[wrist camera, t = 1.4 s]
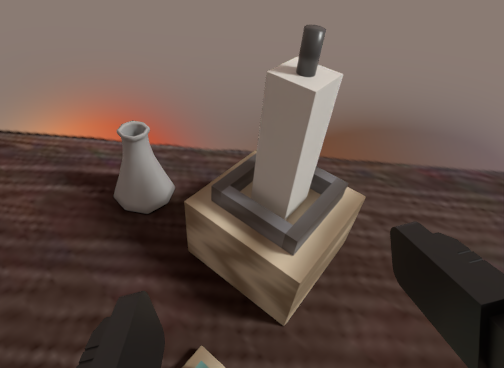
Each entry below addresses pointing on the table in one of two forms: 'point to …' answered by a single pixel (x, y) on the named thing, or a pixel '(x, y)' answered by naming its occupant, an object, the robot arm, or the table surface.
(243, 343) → the table surface
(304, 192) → the plug
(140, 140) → the flask
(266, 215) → the upper dock
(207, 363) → the lower socket
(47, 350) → the table surface
